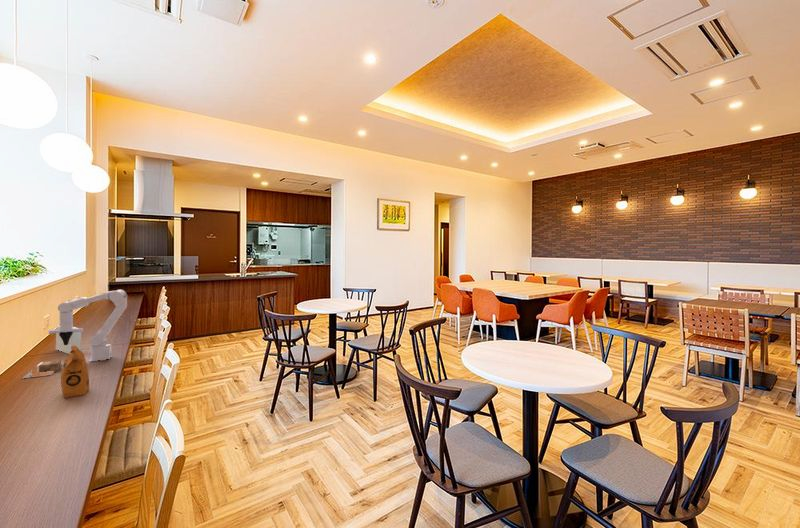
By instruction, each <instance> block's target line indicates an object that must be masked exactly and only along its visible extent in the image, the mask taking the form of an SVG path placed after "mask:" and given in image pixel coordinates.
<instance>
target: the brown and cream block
mask: <svg viewBox="0 0 800 528" xmlns="http://www.w3.org/2000/svg"><path fill="white" fill-rule="evenodd" d="M61 364H62V360H61V359H60V360H51V361H40V363H38V364H37V365H36V367H37V373H39V372H47V371H55V372H57V371H59V370H60V369H61V367H62V366H61Z"/></svg>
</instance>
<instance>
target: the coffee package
mask: <svg viewBox="0 0 800 528" xmlns="http://www.w3.org/2000/svg"><path fill="white" fill-rule="evenodd" d="M71 349H72V351H71V352H70V354H68V356H66V358H65V360H64V362H63V363H62V364H63V365H62V370H61V374H60V375H61V376H60V385H61V392H62V396H63V397H64V398H66V399H67V398H73V397H72V396H74V397H79V396H83V394H84V395H86V394H87V392H88V390H89V388H90V378H89V367H88V363H87V361H86V357H85V355H84V353H83V352H82V350H81V351H80V350H79V349H78V347H77V346H76V345H73V346H71ZM78 395H79V396H78Z"/></svg>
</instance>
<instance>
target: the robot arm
mask: <svg viewBox="0 0 800 528" xmlns="http://www.w3.org/2000/svg"><path fill="white" fill-rule="evenodd" d="M101 300H109V301H111V302H112V303H113V304H114V306H115V307H114V309H113V311H112V312H111V314H110V315H109V316H108V318H107V319H106V320H105V322H104V323H103V325H102V326H101V328H100V329H99V330H98V331H97V332H96V333H95V334H94V335H93V336H92V337H90V338H89V344H90V359H89V360H88V362H90V363H91V362H99V361H98V360H100V361H106V359H109V360H110V359H111V358H112V344H111V343H107V342H106V341H108V338H109V334H110V332H111V330H113V328H114V326H115V325H116V323H117V322H118V320H119V319H120V318H121V316H122V314H123V313H124V312H125V310H126V309H127V307H128V294H127V292H126V291H125V290H124V289H117V290H110V291H106V292H102V293H100V294H99V293H98V294H96V295H93V296H90V297H85V296H79V297H77V298H74V299H72V300H71V299H69V300H68V301H65V302H61V303H60V304H58V306H57V311H59V326H60V328H59V329H57V328H56V329H50V330H48V335H52V334H53V335H54V334H56V333H60V334H59V336H60V337H61V339H62V340H63V343H64V345H68V343H69V339H70V337H71V335H72V334H73V332H81V333H82V332H83V331H84V328H83V327H80V328H79V327H76V328H73V327H74V310H78V309H81V308H83V307H88V306H89V304H90V303H93V302H97V301H101ZM68 331H69V332H68ZM110 357H111V358H110Z"/></svg>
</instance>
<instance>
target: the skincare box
mask: <svg viewBox="0 0 800 528" xmlns="http://www.w3.org/2000/svg"><path fill="white" fill-rule="evenodd" d="M59 328H60V325H56V330H57V329H59ZM73 328H77V327H76V326H73ZM68 332H69V331H68ZM59 334H60V333H55V350H56V351H58V350H59V352H61V351H62V353H65V354H68V355H69V354H70V352H71V351H72V349H71V346H73V345H76V346H77V347H78V349H79V350H80V351H81V352H82V349H81V348H82V332H73V334H72V335H71V337H70V339H69V343H68V345H64V343H63V340H62V339H61V337H60V336H59Z"/></svg>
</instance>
